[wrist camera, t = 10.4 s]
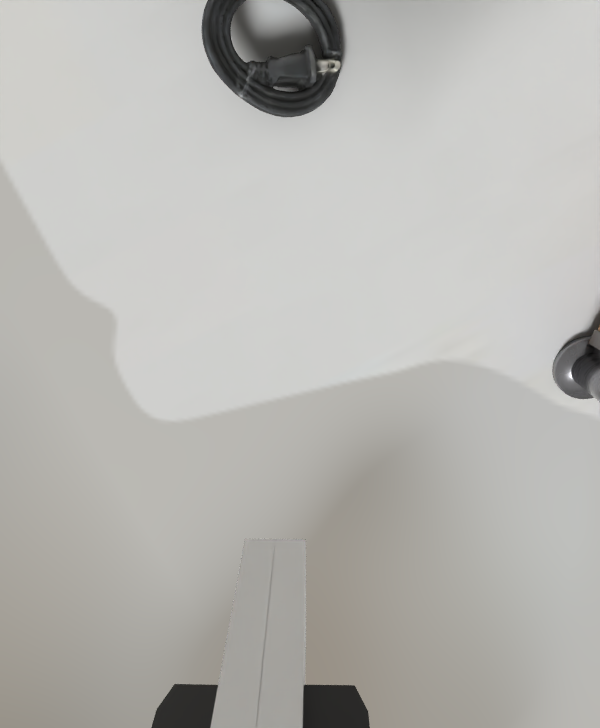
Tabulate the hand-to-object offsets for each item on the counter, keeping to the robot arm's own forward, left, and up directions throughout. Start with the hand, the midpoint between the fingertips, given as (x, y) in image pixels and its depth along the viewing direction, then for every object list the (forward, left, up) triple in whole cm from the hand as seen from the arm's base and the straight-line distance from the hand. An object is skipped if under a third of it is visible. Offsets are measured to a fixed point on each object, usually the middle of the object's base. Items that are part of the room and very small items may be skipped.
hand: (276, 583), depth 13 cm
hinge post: (-2, +20, -24) cm, 32 cm away
